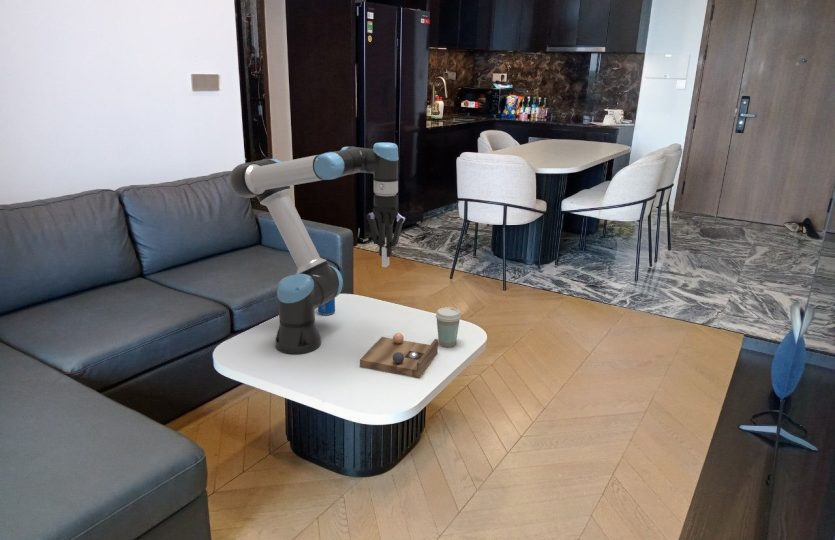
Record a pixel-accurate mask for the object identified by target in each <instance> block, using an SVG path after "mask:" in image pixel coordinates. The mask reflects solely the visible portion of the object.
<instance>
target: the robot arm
mask: <svg viewBox="0 0 835 540" xmlns="http://www.w3.org/2000/svg"><path fill="white" fill-rule="evenodd" d="M399 160H400V159H399V147H398V145H397V143H393V142H376V143H374V144H373V148H365V147H357V146H344V147H342V148H341V149H340V150H337V151H328V152H324V153H321V154H316V155H311V156H305V157H301V158H296V159H291V160H285V161H281V160H279V159H277V158H263V159H262V160H261V159H260V160H256V161H250V162H245V163H244V162H243V163H240V164H238V165H237V166H235V167H234V168H233V169H232V170H231V172H230V175H229V185H230V188H231V190H232V191H233V193H235V194H236V195H237V196H239V197H240V198H245V199H253V198H257V199H258V202H259V203H260V205H262V206H266V208H267V209H268V212H269V214H270V215H271V218H272V220H273V222H274V224H275V225H276V228H277V229H278V231H279V234H280V236H281V237H282V240H283V242H284V244H285V246H286V249H288V251H289V253H290V256H291V257H292V260H293V261H294V263H295V265H296V268H297V270H296V273H295V274H290V275H288V276H285V277H283V278H282V279H280V281H279V282H278V283H277V284H278V285H277V293H276V297H277V305H278V306H277V307H278V319H279V320H278V321H279V325H278V329H277V333H276V336H275V342H274V343H275V348H276V350H277V351H279V352H280V353H283V354H289V355H300V354H303V355H304V354H307V353H310V352H314V351H315V350H317V349H318V348H319V347H320V346H321V345H322V338H321V337H322V336H321V334H320V331H319V328H318V327H317V324H316V318H315V317H316V316H315V315H316V314H315V313H316V312H315V310H316V309H318V307H320V306H321V305H323V304H325V303H327V302H329V301H331V300H333V299H334V298H337V297H338V296H339V295H340V294H341V292H342V290H343V287H344V281H343V275H342V274H341V272H340V270H338V268H336V267H334V266H332V265H330V264H329V263H328V261H327V259H324V258H322V257H320V255H319V253H318V251H317V248H316V246H315V244H314V243H313V240H312V238H311V237H310V235H309V232H308V230H307V228H306V226H305V223H304V222H303V219H301V216H300V214H299V213H298V210H297V208H296V206H295V204H294V203H293V201H292V198H291V197H290V196H291V195H290V194H291V192H292V189H291V187H290V186H295V185H301V184H307V183H314V182H318V181H325V180H326V181H327V180H328V181H329V180H336V179H339V178H341V177H345V176H348V175H354V174H357V173H364V174H365V173H366V174H373V193H374V194H373V208H372V212H369V213H367V214H366V215H365V218H366V220H367V221H368V224H369V229H370V233H371V237H372V242H373V244H374V245H377V246H378V249H379V251H378V254H379V257H381V268H387V267H388V266H390V258H391V257H392V256H393V247H396V246H397V245H398V243H399V240H400V236H401V232H402V228H403V224H404V223H405V221H406V220H407V218H406V216H402V215H401V214H400V210H399V208H398V206H399V195H398V192H399ZM376 220H377V221H376ZM395 220H396V225H395V228H394V221H395ZM393 228H394V229H395V230H394V229H393ZM393 230H394V232H393Z"/></svg>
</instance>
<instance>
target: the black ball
mask: <svg viewBox="0 0 835 540" xmlns="http://www.w3.org/2000/svg"><path fill="white" fill-rule="evenodd" d="M403 360H404V355H403V354H402V353H401V352H396V353H395V354H394V355H393V361H394V362H395V363H401V362H403Z"/></svg>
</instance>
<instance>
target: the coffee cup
mask: <svg viewBox="0 0 835 540" xmlns="http://www.w3.org/2000/svg"><path fill="white" fill-rule="evenodd" d="M435 318H436V325H437V339H438V346H441V347H443V348H451V347H455V346H456V345H457V338H458V331H459V328H460V327H459V326H460V320H461V318H462V315H461V312H460V310H459V309H458V308H455V307H452V306H451V307H449V306H447V307H440V308H439V309H437V311H436V313H435Z"/></svg>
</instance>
